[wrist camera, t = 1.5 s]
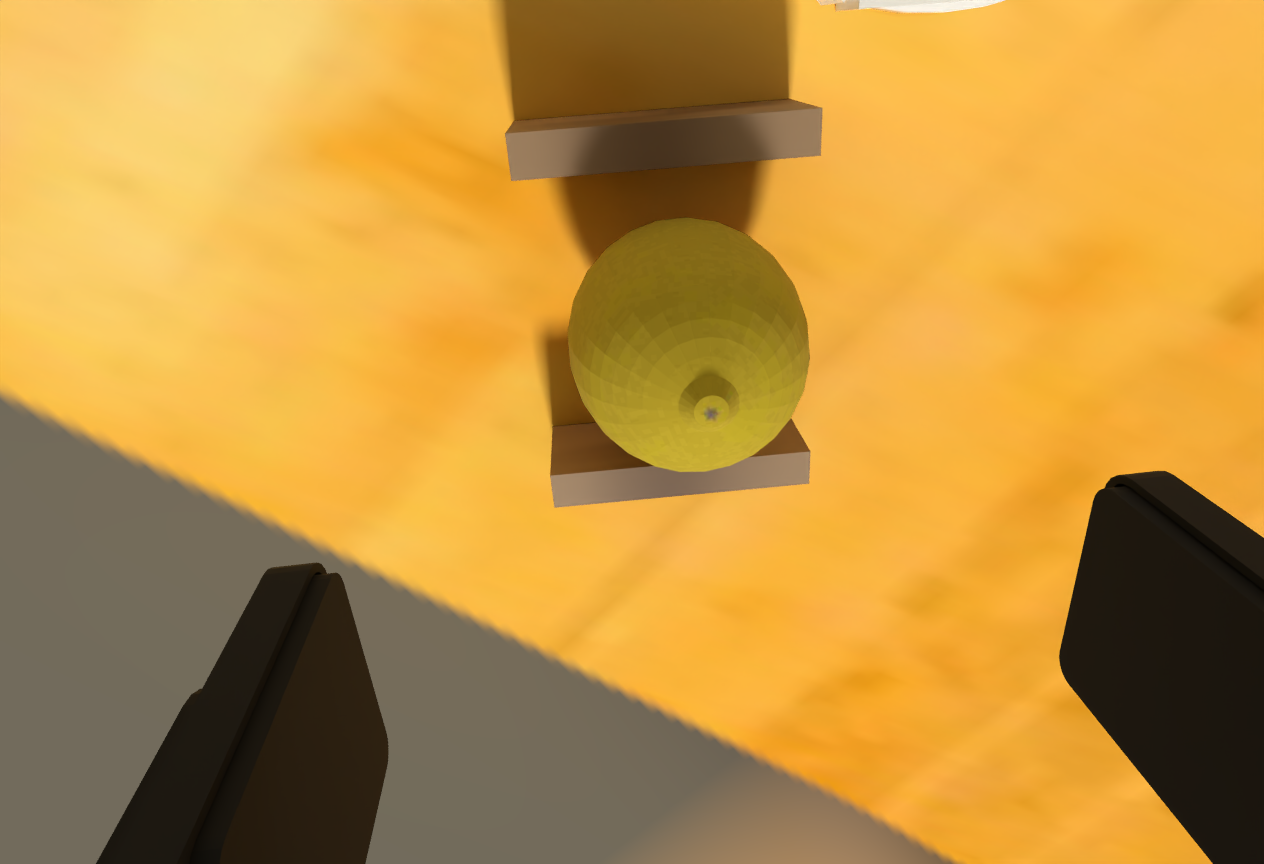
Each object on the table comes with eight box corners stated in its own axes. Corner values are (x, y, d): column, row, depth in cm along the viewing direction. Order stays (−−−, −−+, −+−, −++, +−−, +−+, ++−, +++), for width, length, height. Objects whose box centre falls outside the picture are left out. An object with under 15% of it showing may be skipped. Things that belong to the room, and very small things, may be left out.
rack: (789, 99, 20) (822, 108, 18) (783, 434, 25) (809, 483, 22) (514, 120, 20) (505, 133, 17) (556, 455, 24) (554, 507, 22)
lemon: (528, 270, 22) (506, 385, 15) (697, 148, 21) (763, 206, 13) (641, 417, 24) (671, 579, 17) (800, 314, 23) (904, 440, 16)
